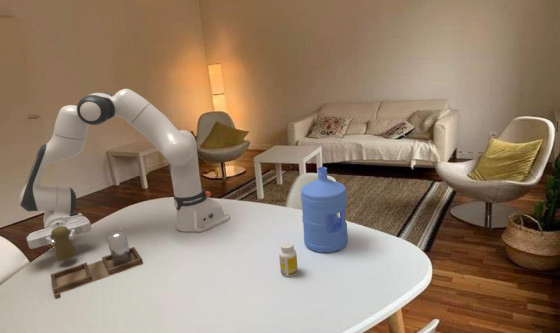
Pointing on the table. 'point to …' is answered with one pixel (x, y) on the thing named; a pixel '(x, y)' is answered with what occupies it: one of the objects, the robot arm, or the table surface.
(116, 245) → the steel cylinder
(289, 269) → the supplement bottle
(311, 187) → the water jug
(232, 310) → the table surface
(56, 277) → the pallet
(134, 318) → the table surface
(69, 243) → the cork
